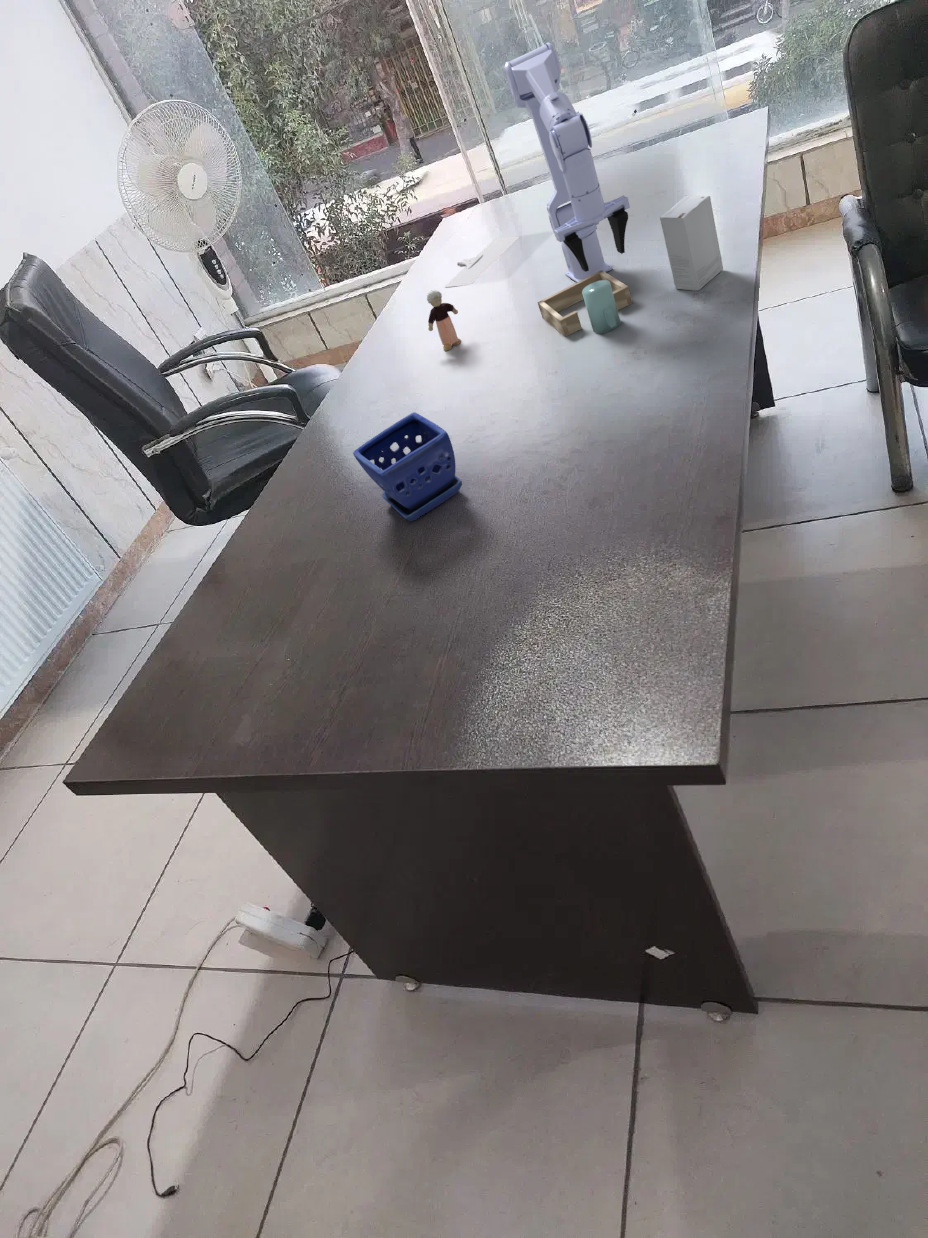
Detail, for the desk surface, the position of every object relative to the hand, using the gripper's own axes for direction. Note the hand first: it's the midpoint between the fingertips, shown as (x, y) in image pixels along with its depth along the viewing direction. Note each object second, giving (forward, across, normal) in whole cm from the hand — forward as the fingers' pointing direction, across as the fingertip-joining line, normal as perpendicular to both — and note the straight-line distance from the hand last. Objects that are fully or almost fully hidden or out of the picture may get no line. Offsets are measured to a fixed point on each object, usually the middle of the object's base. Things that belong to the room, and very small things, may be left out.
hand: (603, 260), depth 167 cm
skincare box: (+10, +16, -5) cm, 20 cm away
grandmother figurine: (+11, -30, +22) cm, 39 cm away
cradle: (+10, -4, +5) cm, 12 cm away
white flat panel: (+11, -9, +59) cm, 61 cm away
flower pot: (+10, -51, -34) cm, 62 cm away
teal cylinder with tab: (+10, -4, -6) cm, 12 cm away
